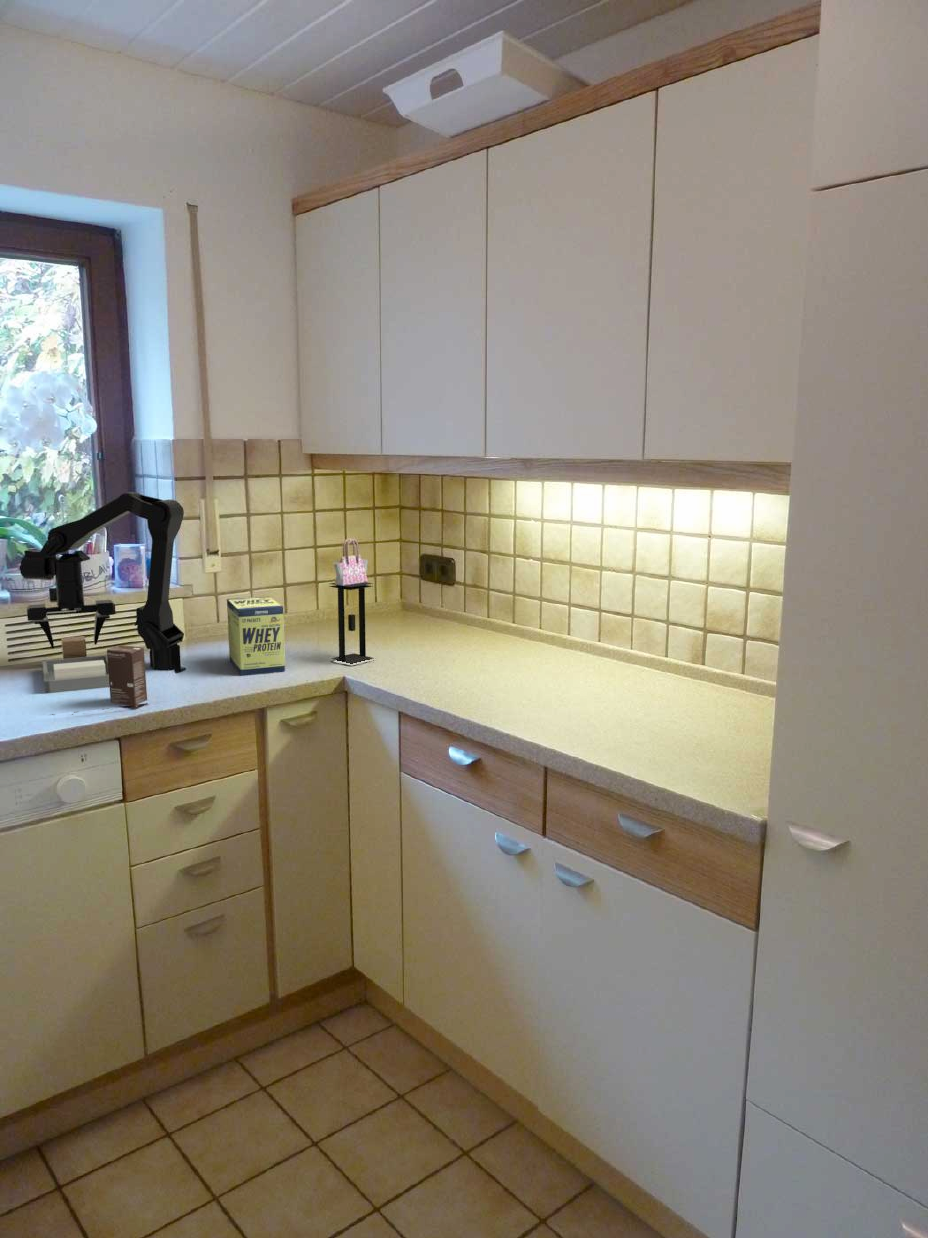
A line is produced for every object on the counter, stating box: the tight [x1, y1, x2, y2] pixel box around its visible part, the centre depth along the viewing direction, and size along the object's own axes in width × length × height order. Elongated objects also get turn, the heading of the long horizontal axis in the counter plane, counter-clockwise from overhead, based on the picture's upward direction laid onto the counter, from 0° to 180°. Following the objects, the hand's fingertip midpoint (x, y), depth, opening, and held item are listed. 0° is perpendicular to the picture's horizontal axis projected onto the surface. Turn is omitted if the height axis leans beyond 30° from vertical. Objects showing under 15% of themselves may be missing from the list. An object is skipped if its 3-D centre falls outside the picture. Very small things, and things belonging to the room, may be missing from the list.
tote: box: [42, 654, 110, 695], centre depth 204 cm, size 20×14×4 cm
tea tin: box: [60, 635, 88, 659], centre depth 216 cm, size 5×5×7 cm
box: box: [106, 644, 148, 710], centre depth 186 cm, size 6×4×12 cm
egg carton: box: [53, 660, 106, 680], centre depth 198 cm, size 5×10×4 cm, turn 115°
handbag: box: [328, 538, 375, 664], centre depth 222 cm, size 10×8×30 cm
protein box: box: [226, 596, 286, 677], centre depth 218 cm, size 10×16×16 cm
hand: (74, 646), depth 216 cm, fingers open, 9 cm apart
